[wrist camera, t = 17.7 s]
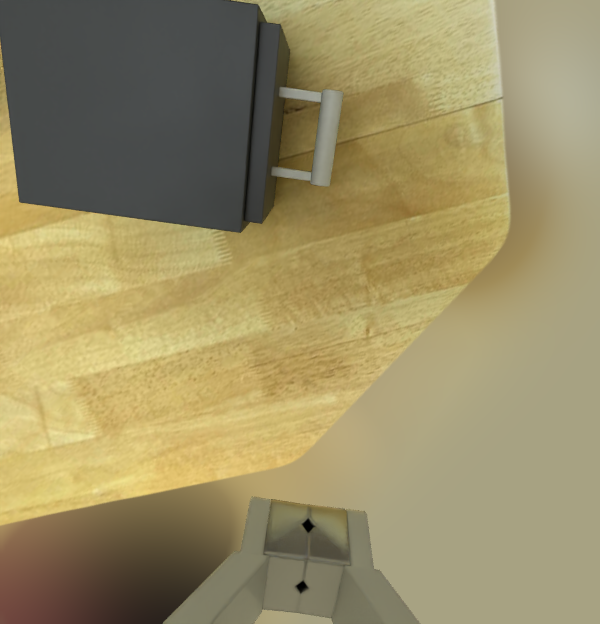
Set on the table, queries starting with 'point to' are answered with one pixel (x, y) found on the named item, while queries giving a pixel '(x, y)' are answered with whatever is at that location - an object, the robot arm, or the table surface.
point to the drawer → (270, 125)
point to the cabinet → (133, 106)
